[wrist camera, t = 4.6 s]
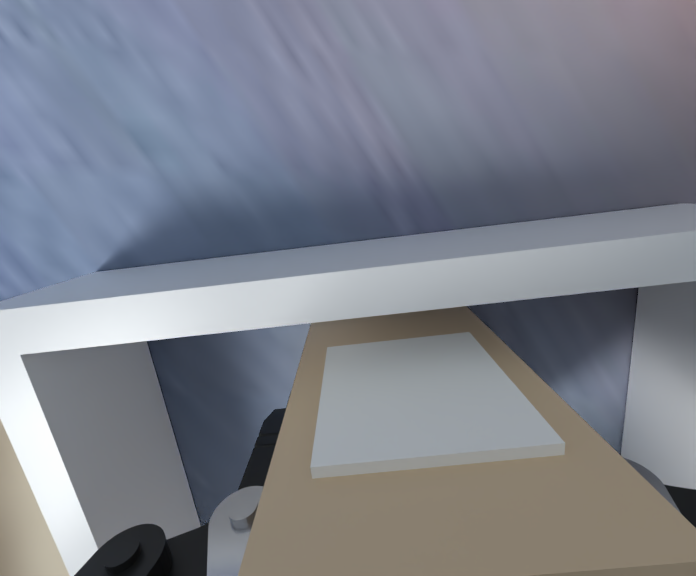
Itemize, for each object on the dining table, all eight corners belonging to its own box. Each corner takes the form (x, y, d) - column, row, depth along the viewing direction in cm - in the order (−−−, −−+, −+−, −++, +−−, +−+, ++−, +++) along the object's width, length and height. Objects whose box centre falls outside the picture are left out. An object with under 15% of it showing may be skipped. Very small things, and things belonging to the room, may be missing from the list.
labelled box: (465, 299, 11) (754, 565, 3) (469, 436, 12) (679, 861, 5) (310, 316, 11) (219, 609, 3) (331, 449, 13) (301, 882, 5)
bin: (681, 203, 10) (881, 209, 6) (625, 628, 15) (721, 778, 11) (94, 272, 11) (-46, 315, 7) (217, 659, 16) (174, 812, 12)
